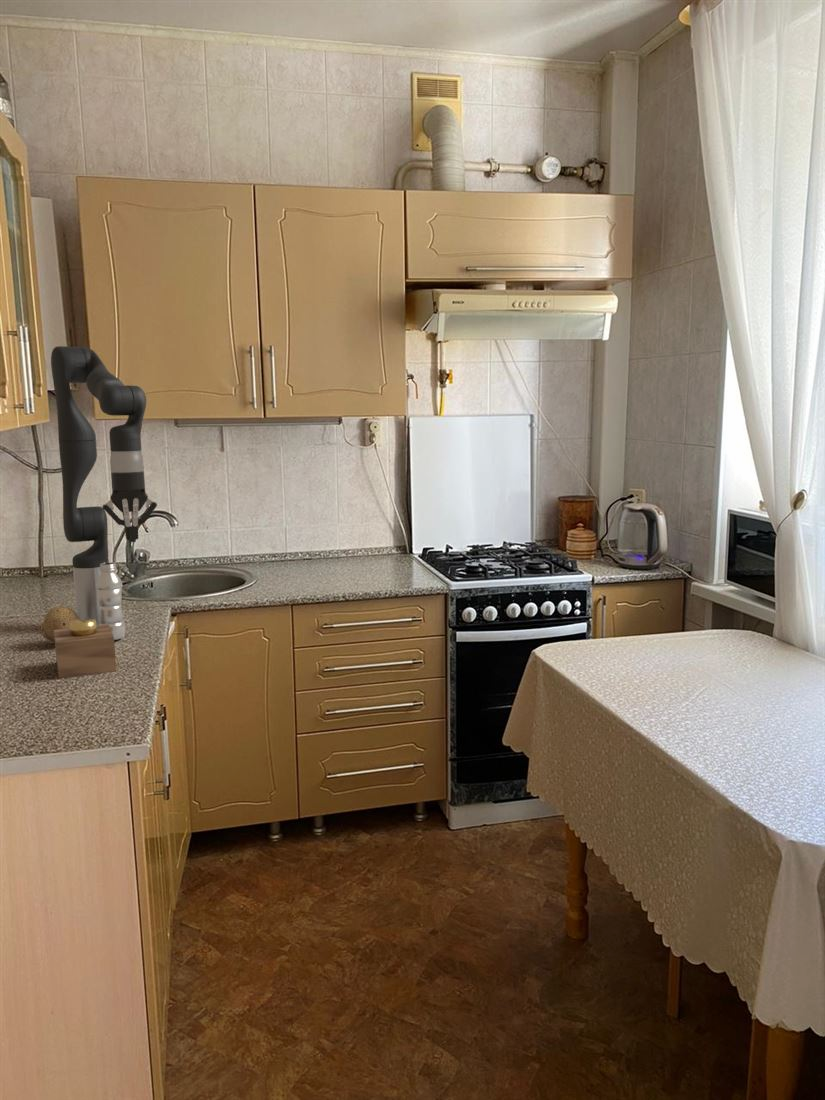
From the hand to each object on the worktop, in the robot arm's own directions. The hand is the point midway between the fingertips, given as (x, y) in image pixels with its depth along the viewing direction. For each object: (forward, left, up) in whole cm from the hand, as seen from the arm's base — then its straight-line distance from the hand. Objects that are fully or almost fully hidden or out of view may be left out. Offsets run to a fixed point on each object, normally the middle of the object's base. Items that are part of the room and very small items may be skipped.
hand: (132, 541), depth 202 cm
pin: (+10, -13, -26) cm, 31 cm away
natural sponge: (-14, -17, -27) cm, 35 cm away
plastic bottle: (-13, -5, -27) cm, 31 cm away
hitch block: (+10, -13, -27) cm, 32 cm away
